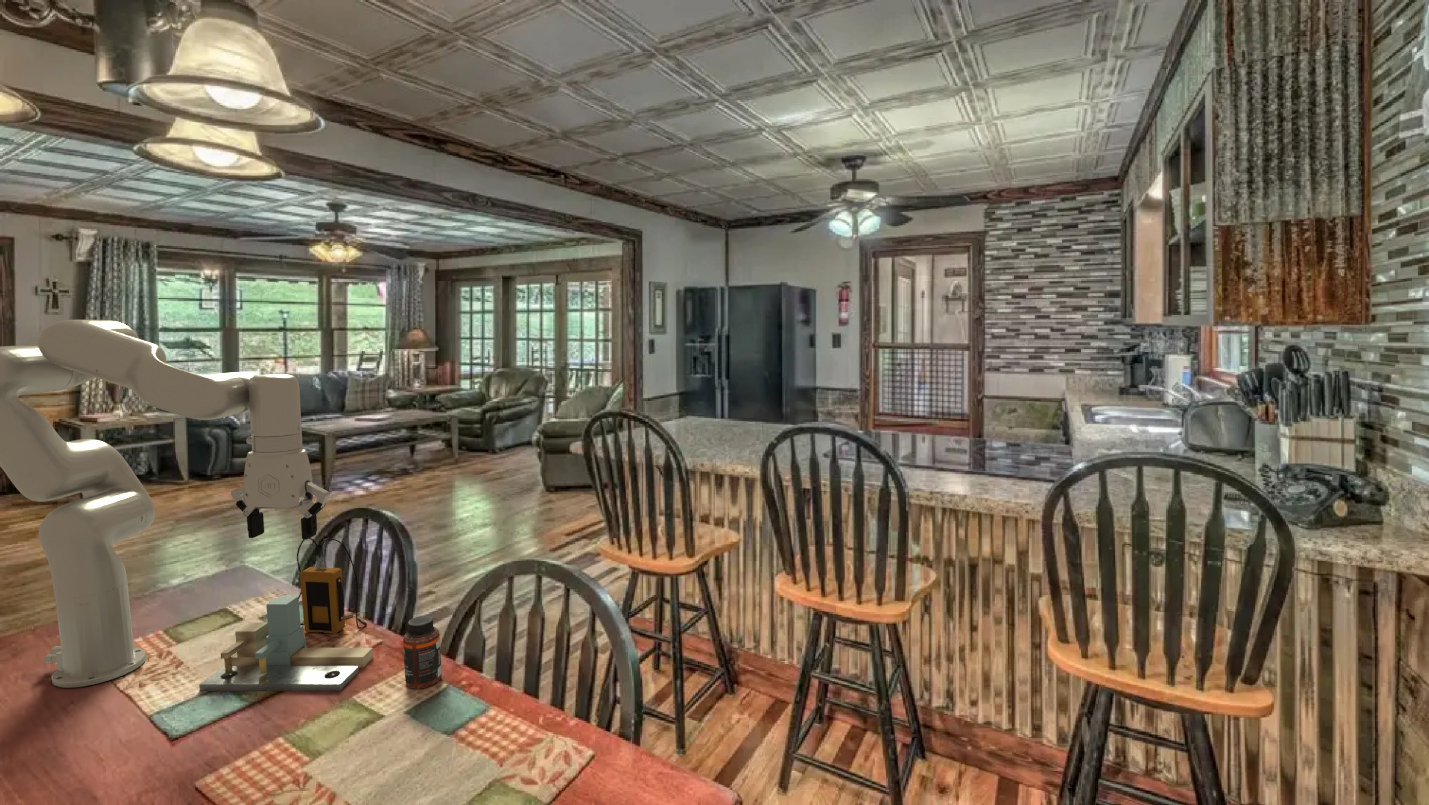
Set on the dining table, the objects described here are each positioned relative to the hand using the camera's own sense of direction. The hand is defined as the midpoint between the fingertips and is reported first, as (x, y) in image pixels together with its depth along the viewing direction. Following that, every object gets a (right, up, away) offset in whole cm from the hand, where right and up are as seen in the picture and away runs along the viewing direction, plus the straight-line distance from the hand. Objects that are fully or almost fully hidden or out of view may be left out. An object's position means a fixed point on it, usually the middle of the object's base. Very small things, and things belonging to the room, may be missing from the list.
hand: (282, 536), depth 120 cm
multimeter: (-1, -22, +20) cm, 30 cm away
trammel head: (-1, -24, +1) cm, 24 cm away
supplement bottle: (+27, -25, -3) cm, 37 cm away
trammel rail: (+2, -24, 0) cm, 25 cm away
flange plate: (+2, -25, -3) cm, 25 cm away
